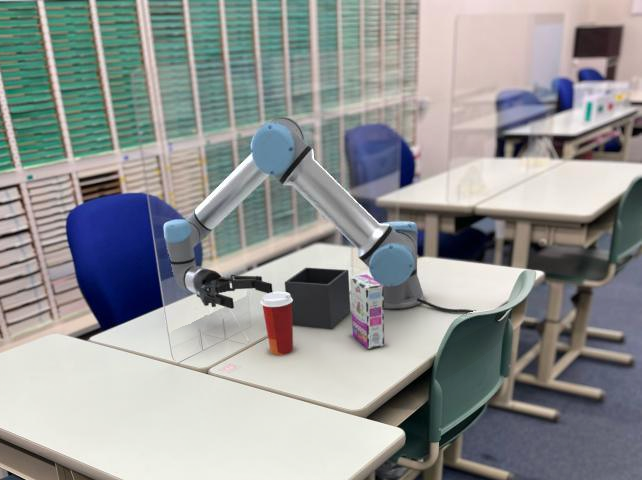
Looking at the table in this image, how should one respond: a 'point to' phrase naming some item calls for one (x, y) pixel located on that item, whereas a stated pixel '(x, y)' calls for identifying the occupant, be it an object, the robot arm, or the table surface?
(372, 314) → the candy bar box
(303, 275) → the trash bin
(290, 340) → the coffee cup
